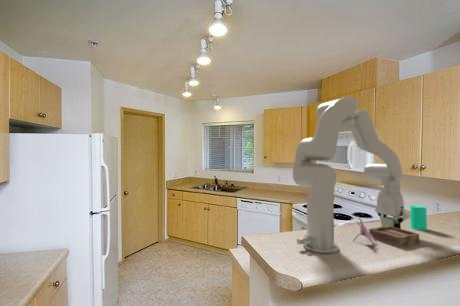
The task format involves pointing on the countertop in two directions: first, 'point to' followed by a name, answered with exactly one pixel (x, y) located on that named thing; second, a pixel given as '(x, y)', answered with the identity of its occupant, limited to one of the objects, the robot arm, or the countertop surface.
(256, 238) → the countertop surface
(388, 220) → the sage block
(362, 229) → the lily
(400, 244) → the base block
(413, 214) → the candle
